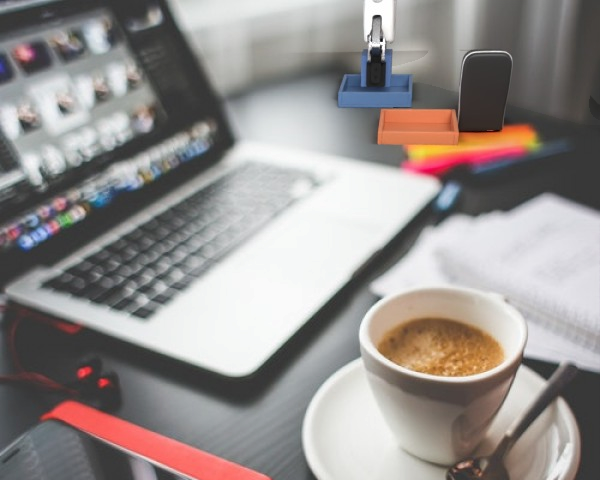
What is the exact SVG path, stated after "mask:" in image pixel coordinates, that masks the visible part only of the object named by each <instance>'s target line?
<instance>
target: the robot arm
mask: <svg viewBox="0 0 600 480" xmlns="http://www.w3.org/2000/svg"><path fill="white" fill-rule="evenodd" d="M397 2H398V0H362V22H363V24H362V25H363V41H364V43H365V44H367V49H368V62H367V67H366V86H367V87H384V86H385V81H386V62H385V49H387V43H388V42H389V44H391V45H392V44H393V43H395V39H396V25H397V24H396V23H397ZM381 54H382V56H381Z"/></svg>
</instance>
